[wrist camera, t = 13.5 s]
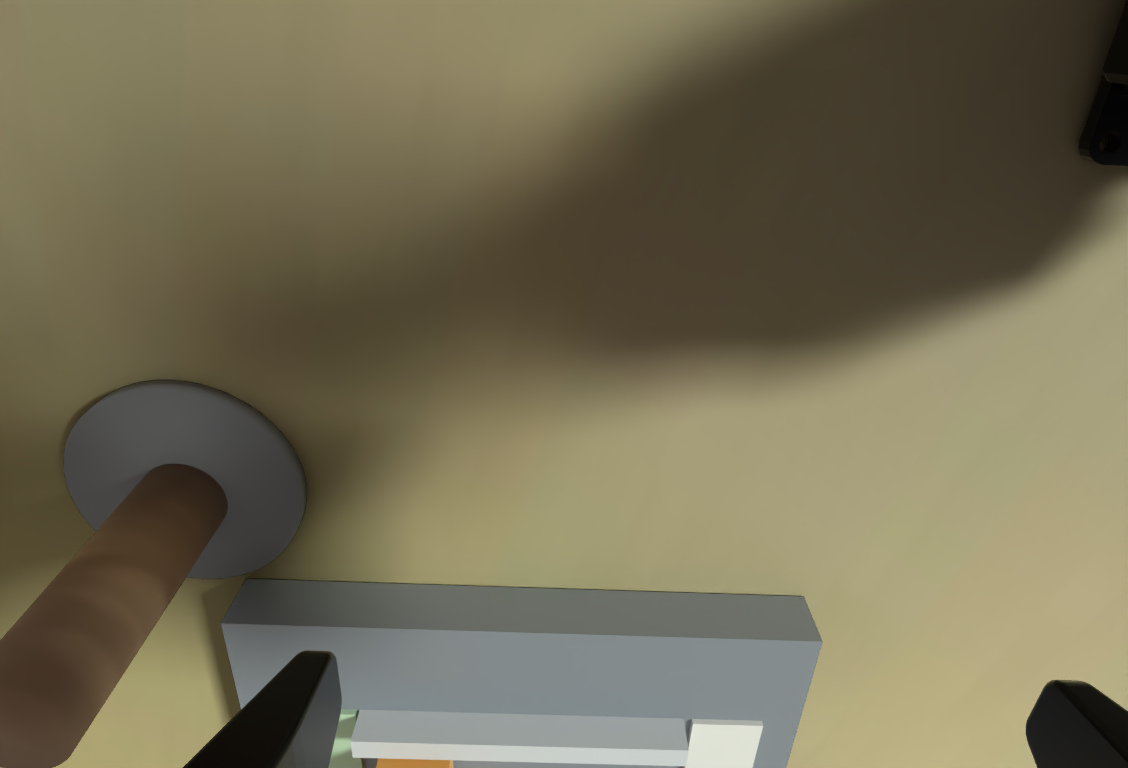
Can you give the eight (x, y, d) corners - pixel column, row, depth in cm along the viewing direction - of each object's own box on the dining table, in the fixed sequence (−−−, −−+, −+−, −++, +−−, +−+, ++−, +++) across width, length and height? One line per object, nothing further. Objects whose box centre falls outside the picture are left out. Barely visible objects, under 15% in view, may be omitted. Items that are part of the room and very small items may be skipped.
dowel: (219, 464, 22) (55, 689, 14) (234, 533, 23) (88, 771, 16) (131, 462, 22) (-78, 686, 14) (150, 531, 23) (-34, 769, 16)
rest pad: (291, 384, 21) (284, 394, 20) (318, 569, 24) (313, 582, 24) (47, 374, 21) (33, 384, 20) (106, 563, 24) (96, 575, 24)
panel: (803, 596, 25) (835, 672, 22) (743, 826, 31) (762, 908, 28) (245, 578, 24) (203, 653, 22) (294, 815, 30) (266, 898, 28)
